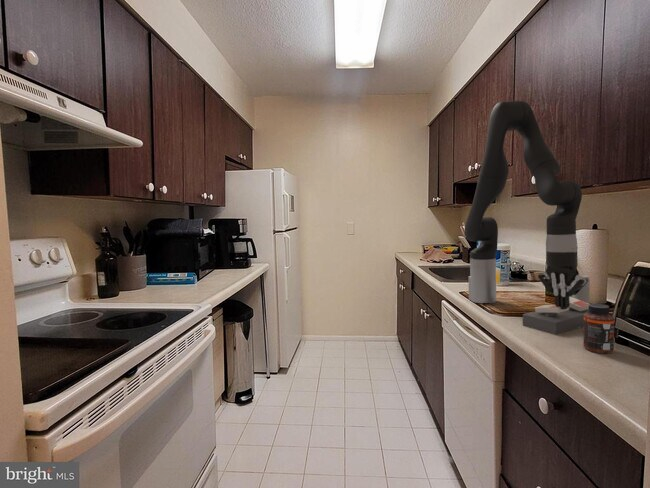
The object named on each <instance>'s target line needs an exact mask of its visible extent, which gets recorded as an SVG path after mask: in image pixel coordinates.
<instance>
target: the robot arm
mask: <svg viewBox="0 0 650 488" xmlns="http://www.w3.org/2000/svg"><path fill="white" fill-rule="evenodd" d="M512 131H514V132H515V131H516V132H517V133H519V135H520V136H521V138H522V140H523V142H524V144H523V145H524V146H523V159H524V162H525V165H526V166H527V168H528V169H529V171H530V173H531V174H532V177H534V181H535V183H534V185H535V187H536V191H537V195H538V197H539V199H540V201H542V202H543V204H546V205H547V206H550V207H551V206H552V207H553V206H556V208H555V212H554V213H552V214H550V215H548V216H547V218H546V238H545V264H546V268H545V272H543V273H541V274H539V275H537V277H538V279H539V281H540V282H541V283H542V285H543V286H544V288H545V289H546V291H547V292H548V293H550V294H553V295H554V305H556V306H557V307H560V306H561V309H567V308H568V307H569V297H572V295H576V294H577V293H578V292H579V291H580V290H581V289H582V288H583V287H584V286H585V284H586V283H587V282H588V280H587V279H584V278H582V277H581V276H580V275H581V274H580V272H579V270H578V264H579V263H578V259H579V258H578V257H579V256H578V238H577V221H576V219H577V216H578V214H579V210H580V207H581V204H582V203H581V202H582V198H583V197H582V196H583V192H582V188H581V186H580V184H579V183H578V182H577V181H574V180H571V179H570V180H559V179H558V178H557V176H559V174H560V172H561V165H560V164H559V162H558V160H557V158H556V157H555V156H554V154H553V153H552V151H551V150H550V148H549V146H548V145H547V143H546V141H545V139H544V137H543V135H542V131H541V129H540V127H539V124H538V122H537V119H536V117H535V114H534V111H533V110H532V107H531V106H530V104H529V103H528V102H527V101H525V100H524V101H523V100H509V101H508V100H505V101H499V102H497V103H496V104H495V105H494V107H493V108H492V109H491V113H490V116H489V120H488V127H487V136H486V143H485V149H484V155H483V159H482V163H481V167H480V171H479V175H478V179H477V183H476V188H475V193H474V196H473V200H472V204H471V207H470V210H469V213H468V214H467V218H466V221H465V226H464V236H465V238H466V240H467V241H469V242H481V244H479V246H477V247H475V248H474V249H472V250H471V251H470V252H469V271H470V272H469V273H470V274H469V275H470V276H468V300H469V301H471V302H472V303H476V304H477V303H478V304H483V303H490V304H494V303H497V262H496V261H497V259H496V257H497V253H498V252H497V251H498V242H499V241H498V236H499V228H498V227H499V226H498V223H497V220H496V219H495V218H494V217H492V216H488V217H486V216H484V215H485V213H486V211H487V209H488V208H489V207H490V205H492V204H493V202H494V201H495V200H496V199H497V198H498V197H499V196H500V195H501V194H502V192H503V191H504V189H505V187H506V183H507V180H508V176H509V171H510V168H509V163H508V160H507V158H506V157H507V156H506V154H505V150H504V145H505V139H506V134H507V132H512ZM575 279H576V280H575ZM574 280H575V283H576V284H575V285H574V286H573V287H572V282H573V281H574Z"/></svg>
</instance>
